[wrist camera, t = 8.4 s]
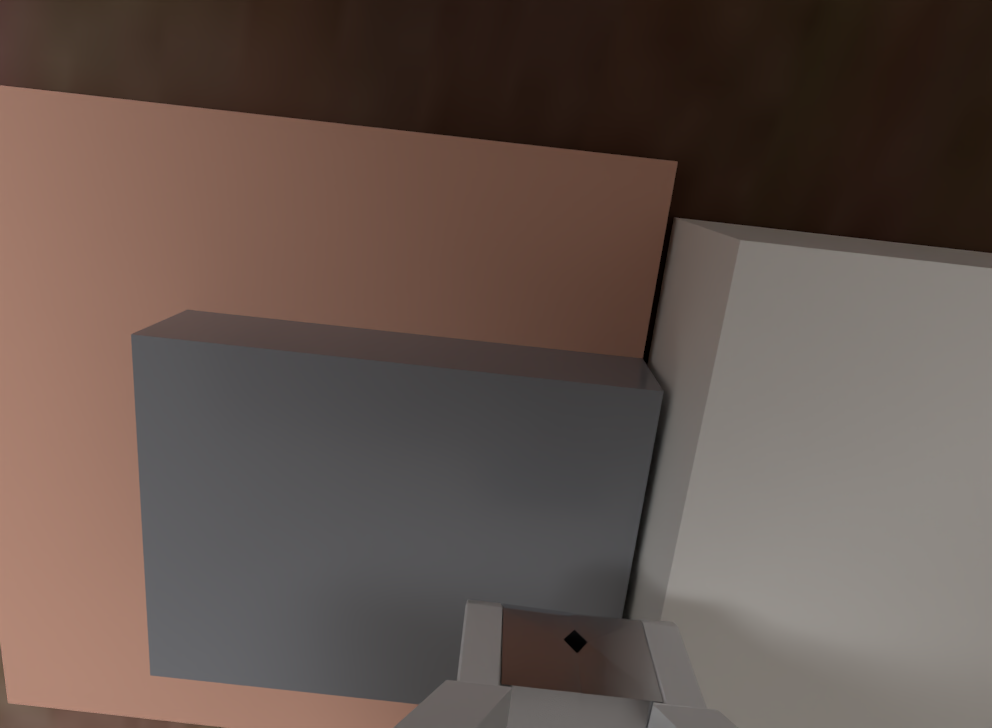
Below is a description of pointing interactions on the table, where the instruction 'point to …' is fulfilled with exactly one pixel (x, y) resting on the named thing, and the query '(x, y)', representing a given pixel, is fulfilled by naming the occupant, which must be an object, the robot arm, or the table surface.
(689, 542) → the block
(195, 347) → the gray flat block
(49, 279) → the mat
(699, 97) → the table surface
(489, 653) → the robot arm
